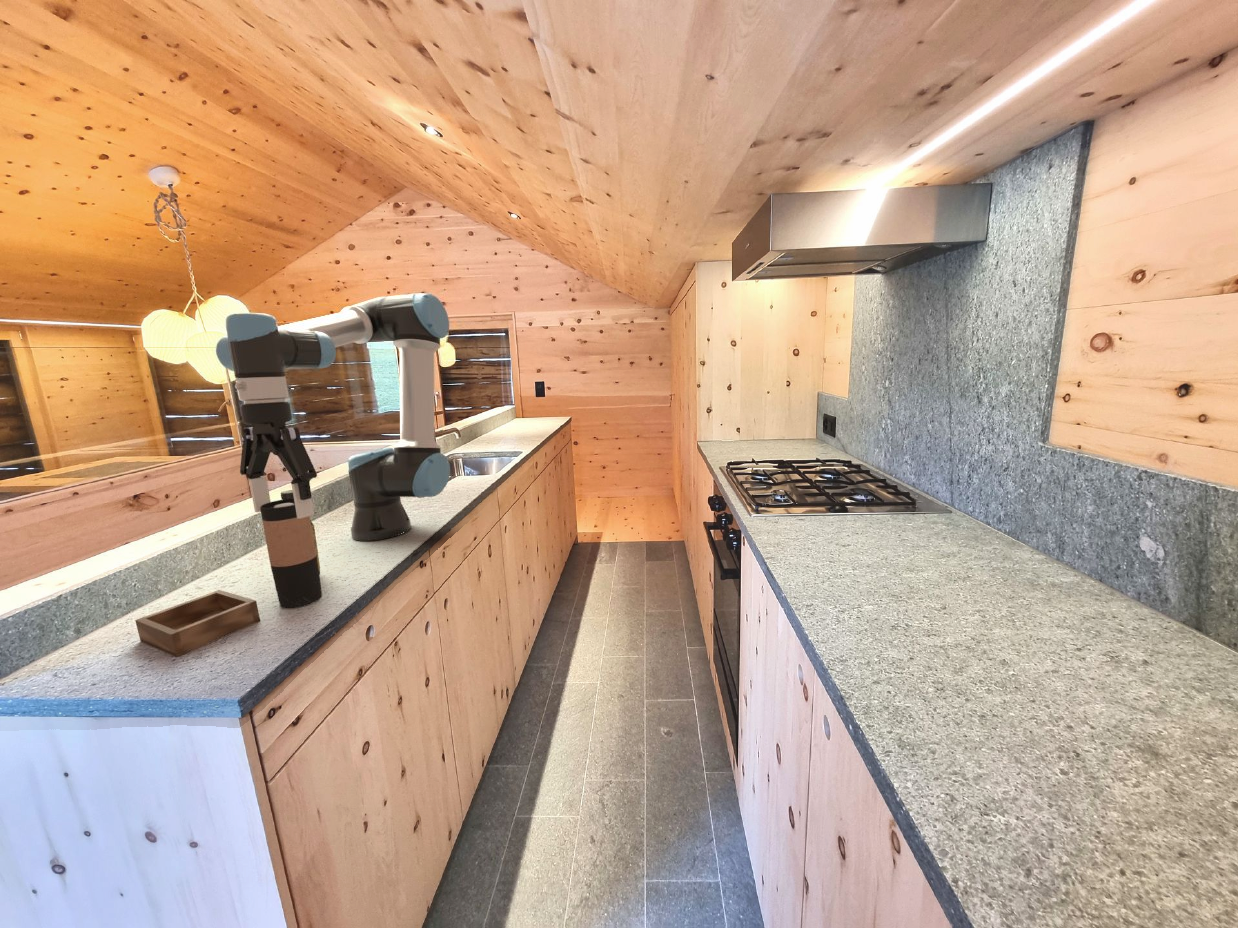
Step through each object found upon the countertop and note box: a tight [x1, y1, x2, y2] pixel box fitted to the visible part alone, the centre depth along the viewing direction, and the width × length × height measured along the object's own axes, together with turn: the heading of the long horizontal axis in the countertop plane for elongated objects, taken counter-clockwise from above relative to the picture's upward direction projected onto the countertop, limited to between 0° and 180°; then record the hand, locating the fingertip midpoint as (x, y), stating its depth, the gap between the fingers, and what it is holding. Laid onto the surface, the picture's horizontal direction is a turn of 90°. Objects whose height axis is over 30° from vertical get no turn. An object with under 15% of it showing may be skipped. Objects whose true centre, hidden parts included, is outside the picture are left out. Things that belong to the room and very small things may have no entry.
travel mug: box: [260, 498, 323, 610], centre depth 97 cm, size 8×8×20 cm
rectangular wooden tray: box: [134, 589, 261, 658], centre depth 88 cm, size 12×12×4 cm
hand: (284, 513), depth 95 cm, fingers open, 13 cm apart
